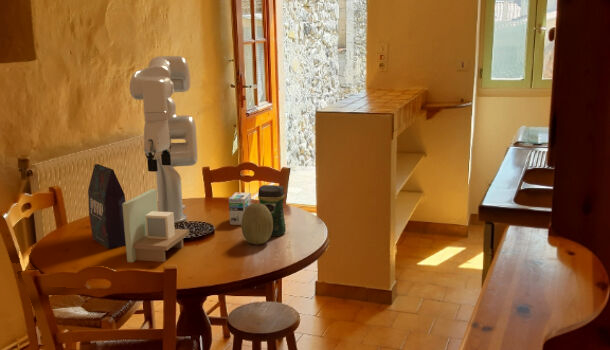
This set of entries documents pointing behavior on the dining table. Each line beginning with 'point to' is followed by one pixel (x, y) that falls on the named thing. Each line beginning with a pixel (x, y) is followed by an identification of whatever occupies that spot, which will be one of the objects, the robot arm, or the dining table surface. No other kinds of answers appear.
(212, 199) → the dining table surface
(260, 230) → the fruit
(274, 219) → the coffee jar
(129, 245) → the pale l-shaped piece
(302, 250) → the dining table surface
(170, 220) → the cabinet block
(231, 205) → the light bulb box
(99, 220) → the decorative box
